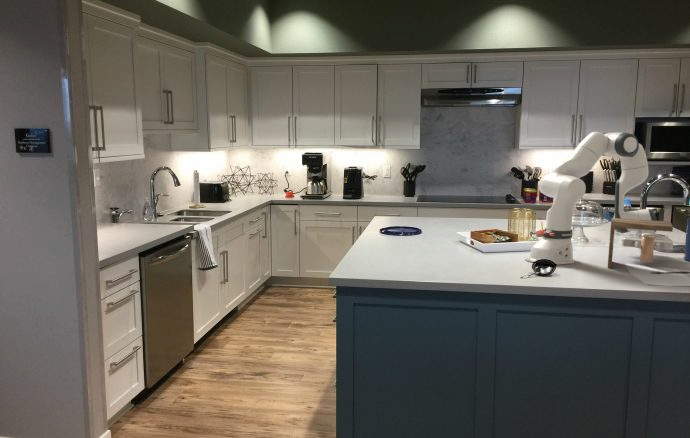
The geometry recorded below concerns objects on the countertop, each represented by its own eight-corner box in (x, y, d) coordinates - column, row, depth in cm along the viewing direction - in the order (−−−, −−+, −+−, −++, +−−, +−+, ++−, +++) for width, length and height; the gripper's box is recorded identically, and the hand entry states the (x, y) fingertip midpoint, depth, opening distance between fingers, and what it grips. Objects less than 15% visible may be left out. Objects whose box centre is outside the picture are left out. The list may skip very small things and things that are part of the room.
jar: (648, 262, 249) (650, 235, 247) (637, 260, 253) (639, 233, 251) (655, 261, 251) (657, 234, 249) (644, 258, 256) (646, 232, 254)
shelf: (608, 261, 260) (611, 217, 257) (665, 266, 250) (670, 221, 247) (607, 268, 246) (611, 222, 243) (668, 274, 236) (672, 226, 233)
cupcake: (541, 244, 295) (542, 222, 294) (531, 241, 304) (532, 219, 302) (555, 244, 298) (556, 221, 296) (545, 241, 306) (547, 218, 304)
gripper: (622, 232, 266) (621, 237, 254) (672, 235, 258) (674, 241, 245) (621, 245, 267) (620, 251, 255) (670, 249, 259) (673, 255, 246)
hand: (647, 246), depth 250 cm, fingers closed on jar, 5 cm apart
